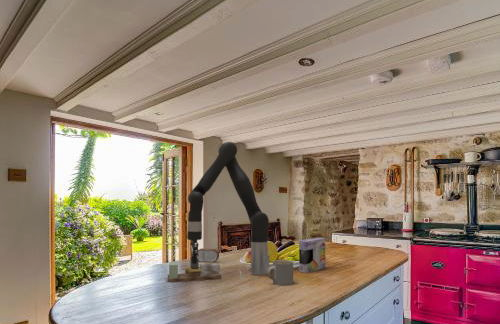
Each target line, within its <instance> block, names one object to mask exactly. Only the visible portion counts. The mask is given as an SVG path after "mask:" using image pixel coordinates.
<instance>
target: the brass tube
mask: <svg viewBox="0 0 500 324" xmlns="http://www.w3.org/2000/svg"><path fill="white" fill-rule="evenodd" d="M189 259H190V260H189V267H185V268H184V271H185V272H184V274H197V273H201V267H200V262H199V259H198V258H197V263H196V264H193V263H192V260H193V258H191V257H190V258H189Z"/></svg>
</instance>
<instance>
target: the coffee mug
mask: <svg viewBox="0 0 500 324" xmlns="http://www.w3.org/2000/svg"><path fill="white" fill-rule="evenodd" d="M271 272H272V275H271ZM266 276H267V277H268V279H270V280H271V281H272V283H273V284H274V285H278V286H290V285H293V284H294V262H293V260H291V259H290V260H288V259H276V260H273V261H272V266H269V268H268V271H267V275H266Z"/></svg>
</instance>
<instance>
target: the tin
mask: <svg viewBox="0 0 500 324" xmlns="http://www.w3.org/2000/svg"><path fill="white" fill-rule="evenodd" d="M197 258H198V259H199V263H215V262H217V261H218V260H219V258H220V252H219V251H218V250H217V249H215V248H200V249H199V248H198V255H197Z"/></svg>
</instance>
